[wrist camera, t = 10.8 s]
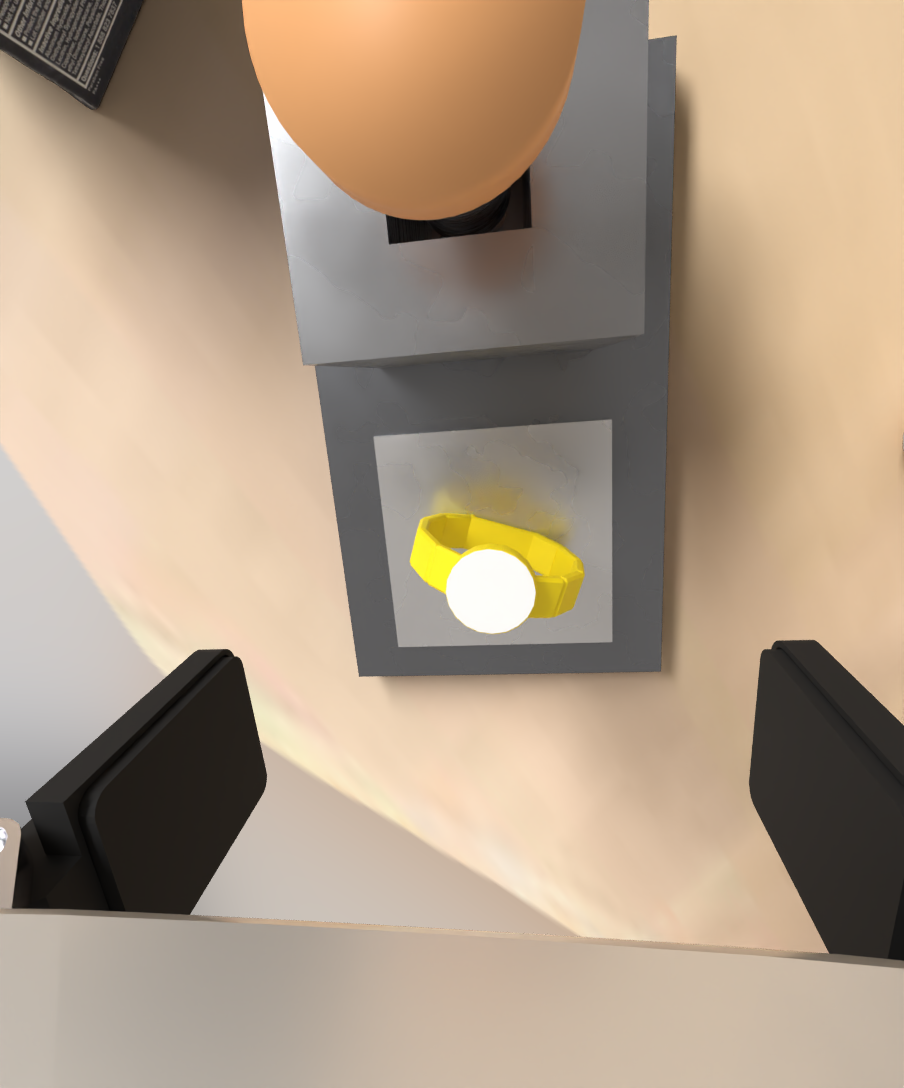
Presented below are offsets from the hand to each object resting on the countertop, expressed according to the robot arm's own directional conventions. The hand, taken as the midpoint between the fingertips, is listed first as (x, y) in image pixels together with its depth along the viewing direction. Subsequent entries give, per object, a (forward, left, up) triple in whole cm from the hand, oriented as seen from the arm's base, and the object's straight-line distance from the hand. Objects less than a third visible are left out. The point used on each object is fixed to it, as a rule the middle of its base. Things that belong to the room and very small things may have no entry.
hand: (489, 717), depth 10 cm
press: (0, -4, -15) cm, 15 cm away
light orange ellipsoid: (0, -10, -7) cm, 13 cm away
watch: (0, 0, -13) cm, 13 cm away
